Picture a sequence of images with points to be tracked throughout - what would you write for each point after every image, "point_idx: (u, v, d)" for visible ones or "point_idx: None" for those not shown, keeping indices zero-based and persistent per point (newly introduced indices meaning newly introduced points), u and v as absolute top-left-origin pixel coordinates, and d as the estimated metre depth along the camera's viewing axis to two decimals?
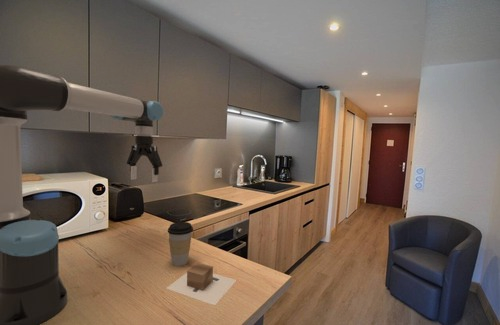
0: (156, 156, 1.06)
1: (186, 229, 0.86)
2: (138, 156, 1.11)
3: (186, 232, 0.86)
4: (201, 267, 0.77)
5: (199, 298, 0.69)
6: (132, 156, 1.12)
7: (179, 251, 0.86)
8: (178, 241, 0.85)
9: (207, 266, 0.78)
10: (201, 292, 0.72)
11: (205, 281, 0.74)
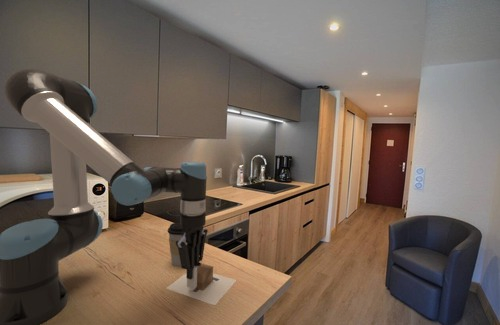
0: (181, 255, 0.67)
1: None
2: None
3: None
4: (201, 267, 0.77)
5: (199, 298, 0.69)
6: None
7: None
8: None
9: (207, 266, 0.78)
10: (201, 292, 0.72)
11: (205, 281, 0.74)
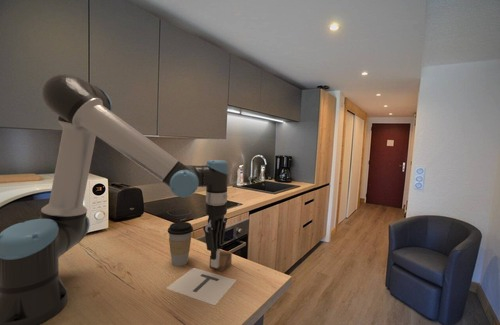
0: (207, 239, 0.80)
1: (186, 229, 0.86)
2: None
3: (186, 232, 0.86)
4: (221, 253, 0.89)
5: (199, 298, 0.69)
6: None
7: (179, 251, 0.86)
8: (178, 241, 0.85)
9: (226, 252, 0.89)
10: (201, 292, 0.72)
11: (225, 264, 0.85)
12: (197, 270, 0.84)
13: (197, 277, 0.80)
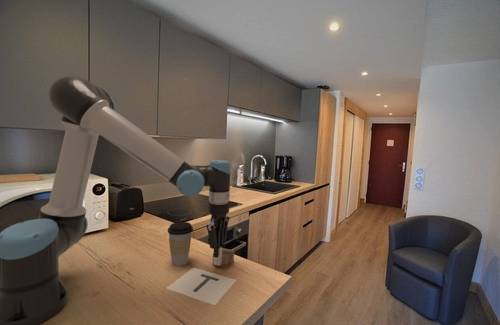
0: (210, 237, 0.82)
1: (186, 229, 0.86)
2: None
3: (186, 232, 0.86)
4: (224, 251, 0.90)
5: (199, 298, 0.69)
6: None
7: (179, 251, 0.86)
8: (178, 241, 0.85)
9: (229, 250, 0.91)
10: (201, 292, 0.72)
11: (228, 262, 0.87)
12: (197, 270, 0.84)
13: (197, 277, 0.80)
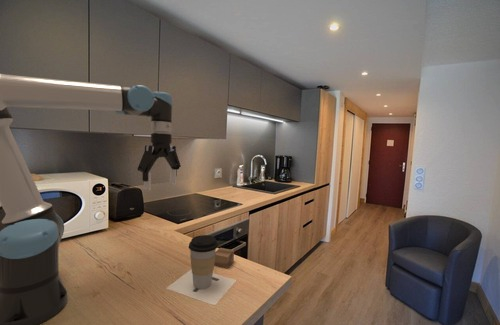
0: (143, 157, 0.84)
1: (211, 245, 0.73)
2: (167, 158, 0.94)
3: (211, 249, 0.72)
4: (224, 251, 0.90)
5: (199, 298, 0.69)
6: (173, 158, 0.98)
7: (202, 271, 0.72)
8: (201, 259, 0.72)
9: (229, 250, 0.91)
10: (201, 292, 0.72)
11: (228, 262, 0.88)
12: None
13: None
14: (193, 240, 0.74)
